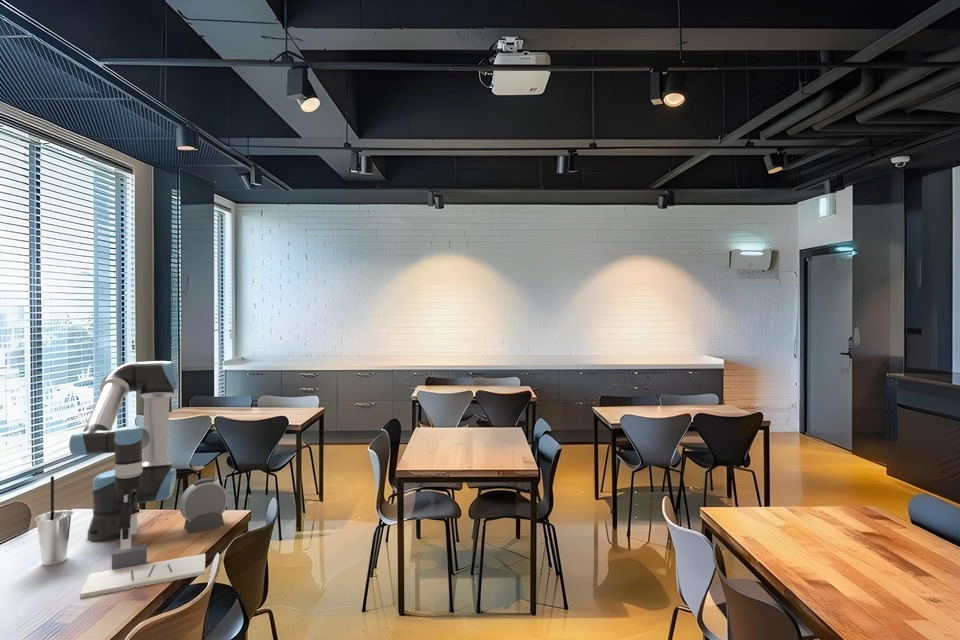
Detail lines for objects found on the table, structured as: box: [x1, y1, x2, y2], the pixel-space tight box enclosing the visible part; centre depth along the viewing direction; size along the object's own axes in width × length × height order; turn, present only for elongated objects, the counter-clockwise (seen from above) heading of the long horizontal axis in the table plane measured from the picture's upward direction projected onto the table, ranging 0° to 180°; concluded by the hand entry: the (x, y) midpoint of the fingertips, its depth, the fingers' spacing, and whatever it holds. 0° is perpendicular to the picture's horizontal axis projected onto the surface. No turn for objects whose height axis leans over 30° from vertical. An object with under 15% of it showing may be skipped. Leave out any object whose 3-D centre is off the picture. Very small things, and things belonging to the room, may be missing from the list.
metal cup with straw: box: [34, 476, 74, 566], centre depth 180 cm, size 11×11×30 cm
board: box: [79, 553, 207, 599], centre depth 169 cm, size 14×32×1 cm, turn 116°
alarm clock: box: [179, 477, 229, 534], centre depth 210 cm, size 16×10×18 cm, turn 133°
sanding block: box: [111, 543, 148, 570], centre depth 176 cm, size 5×9×6 cm, turn 117°
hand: (129, 541), depth 175 cm, fingers open, 13 cm apart
